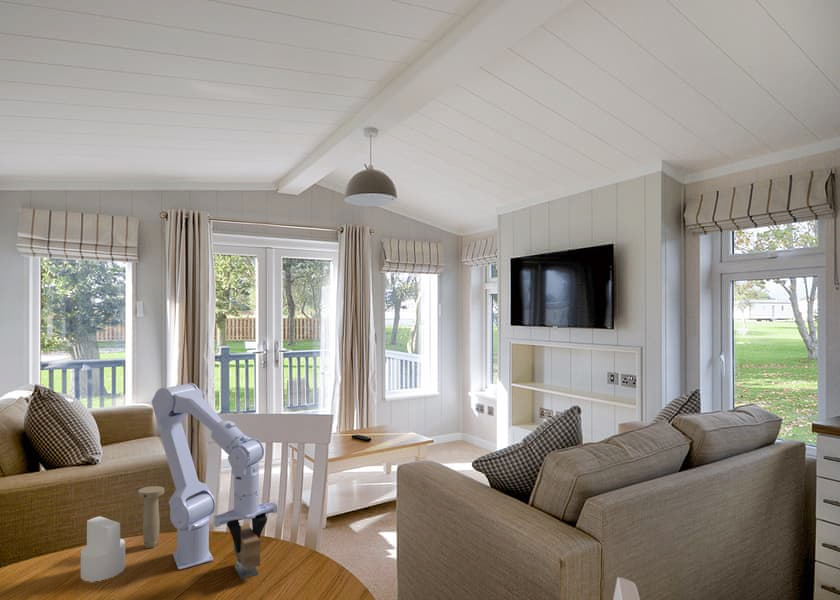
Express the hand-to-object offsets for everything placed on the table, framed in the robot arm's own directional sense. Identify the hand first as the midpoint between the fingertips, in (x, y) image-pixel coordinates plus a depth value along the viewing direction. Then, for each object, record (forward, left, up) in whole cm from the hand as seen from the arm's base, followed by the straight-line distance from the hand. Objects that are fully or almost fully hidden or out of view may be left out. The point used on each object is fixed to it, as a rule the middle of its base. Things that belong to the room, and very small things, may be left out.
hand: (246, 548), depth 119 cm
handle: (-28, -18, -6) cm, 33 cm away
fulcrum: (0, 0, -5) cm, 5 cm away
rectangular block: (0, 0, -2) cm, 2 cm away
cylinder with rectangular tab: (-20, -29, -6) cm, 35 cm away
